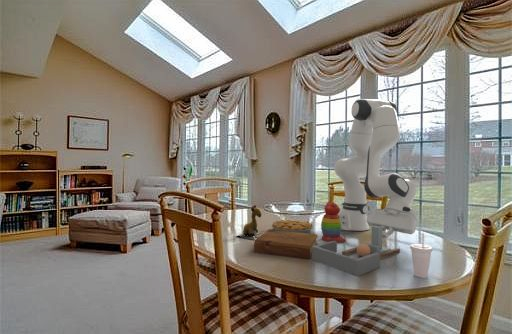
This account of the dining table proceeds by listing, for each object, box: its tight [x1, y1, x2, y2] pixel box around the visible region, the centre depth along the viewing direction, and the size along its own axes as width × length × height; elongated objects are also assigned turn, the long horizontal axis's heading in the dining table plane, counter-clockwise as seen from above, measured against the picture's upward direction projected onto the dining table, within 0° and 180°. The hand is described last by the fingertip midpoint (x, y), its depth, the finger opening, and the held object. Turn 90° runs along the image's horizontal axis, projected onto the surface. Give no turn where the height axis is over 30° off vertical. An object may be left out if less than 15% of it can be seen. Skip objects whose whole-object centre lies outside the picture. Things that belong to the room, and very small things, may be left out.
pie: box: [271, 219, 314, 234], centre depth 153 cm, size 22×22×5 cm
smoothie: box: [409, 232, 433, 279], centre depth 94 cm, size 6×6×14 cm
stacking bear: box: [320, 201, 346, 243], centre depth 137 cm, size 11×10×18 cm
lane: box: [341, 241, 401, 261], centre depth 116 cm, size 12×22×2 cm, turn 126°
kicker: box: [364, 225, 392, 254], centre depth 118 cm, size 8×9×10 cm
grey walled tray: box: [311, 241, 381, 277], centre depth 105 cm, size 20×13×5 cm, turn 36°
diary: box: [253, 229, 319, 260], centre depth 122 cm, size 23×19×6 cm
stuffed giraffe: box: [239, 204, 263, 241], centre depth 147 cm, size 16×18×16 cm
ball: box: [356, 243, 371, 257], centre depth 113 cm, size 5×5×5 cm
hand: (383, 236), depth 121 cm, fingers closed
